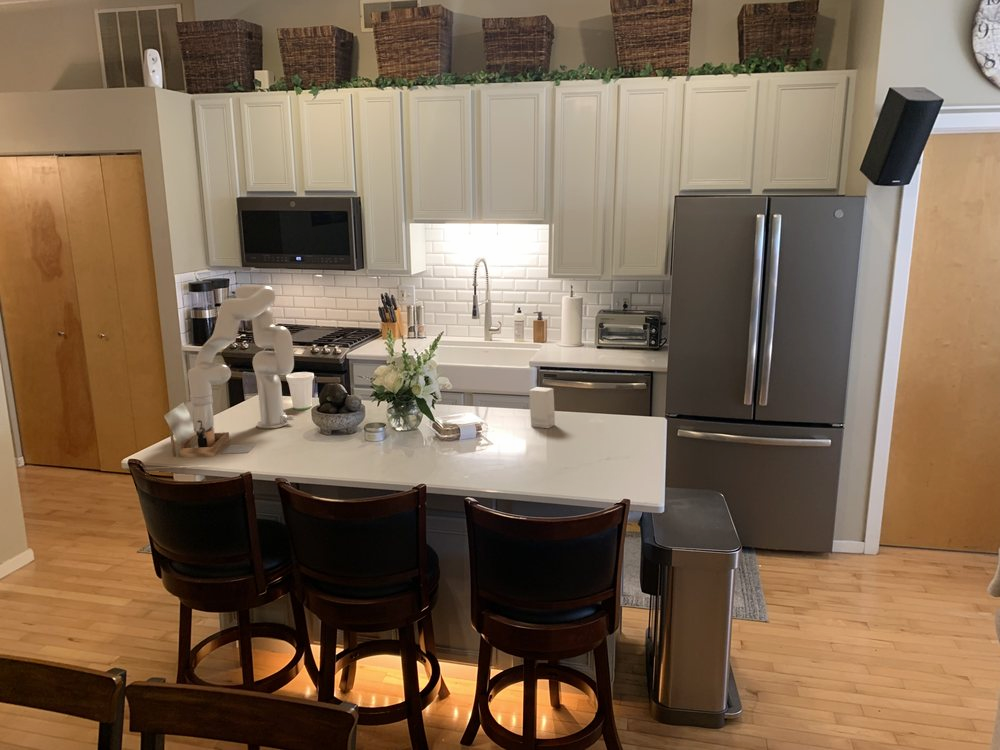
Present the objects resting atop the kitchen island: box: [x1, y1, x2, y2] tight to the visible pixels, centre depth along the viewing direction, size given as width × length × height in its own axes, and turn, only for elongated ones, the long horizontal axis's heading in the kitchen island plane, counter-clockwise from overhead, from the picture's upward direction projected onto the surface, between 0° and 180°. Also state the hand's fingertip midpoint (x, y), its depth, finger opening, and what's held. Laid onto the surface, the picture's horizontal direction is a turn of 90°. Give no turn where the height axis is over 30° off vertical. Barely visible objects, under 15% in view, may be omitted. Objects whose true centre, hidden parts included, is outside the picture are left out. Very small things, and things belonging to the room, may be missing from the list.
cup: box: [285, 371, 315, 411], centre depth 345 cm, size 12×12×15 cm
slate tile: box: [220, 443, 256, 455], centre depth 285 cm, size 10×10×1 cm
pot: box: [201, 428, 215, 447], centre depth 287 cm, size 6×6×7 cm
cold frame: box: [163, 402, 230, 458], centre depth 286 cm, size 16×20×16 cm
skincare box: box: [528, 386, 556, 429], centre depth 306 cm, size 8×7×16 cm
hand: (206, 444), depth 287 cm, fingers open, 8 cm apart
